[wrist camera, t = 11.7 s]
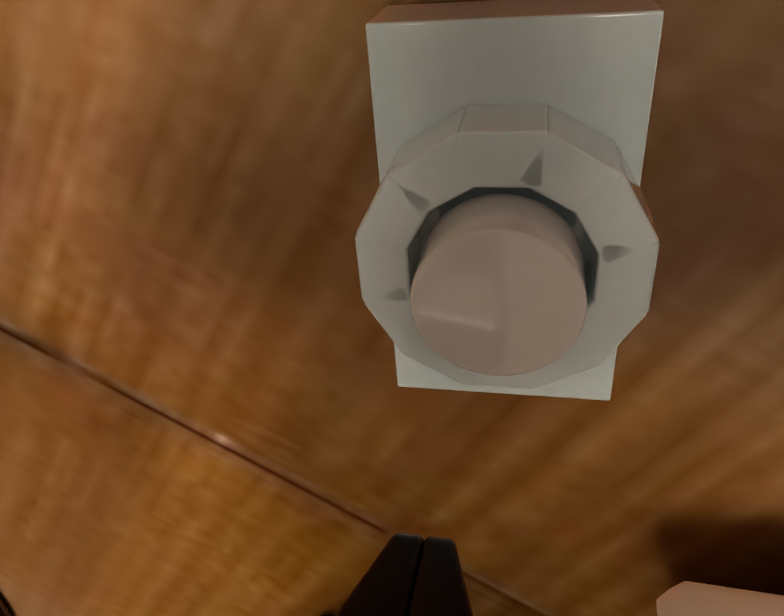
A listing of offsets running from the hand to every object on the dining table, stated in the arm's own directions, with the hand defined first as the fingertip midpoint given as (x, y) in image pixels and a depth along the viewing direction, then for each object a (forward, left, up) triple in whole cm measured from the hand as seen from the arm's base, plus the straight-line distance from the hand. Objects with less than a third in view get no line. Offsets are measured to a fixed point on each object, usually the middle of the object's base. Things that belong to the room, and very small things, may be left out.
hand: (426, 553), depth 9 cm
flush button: (0, -1, -7) cm, 8 cm away
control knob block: (0, -1, -11) cm, 11 cm away
